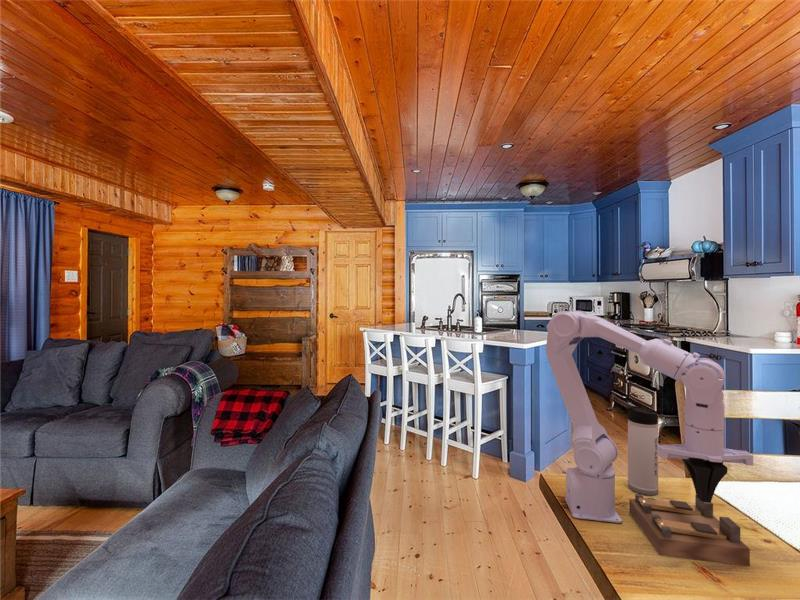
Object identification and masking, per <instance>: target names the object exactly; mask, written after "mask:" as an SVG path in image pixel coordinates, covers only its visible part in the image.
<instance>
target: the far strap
mask: <svg viewBox="0 0 800 600" xmlns="http://www.w3.org/2000/svg"><path fill="white" fill-rule="evenodd" d="M638 501H639V502H640V503H641V505H642V506H643V503H644V504H650V505H651V508H653V509H660V510H666V511H672V512H679V513H685V514H691V515H698V516H701V512H700V511H699V510H698V509H697V508H696V507H695V506H693V505H694V504H693V505H692V504H689V503H687V502H686V501H681V500H680V501H679V500H673V499H669V501H666V500H660V499H653V498H647V497H643V498H642V497H638Z"/></svg>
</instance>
